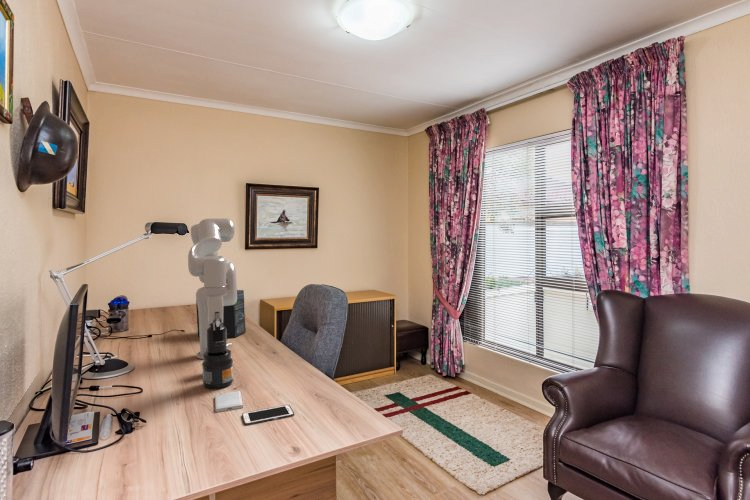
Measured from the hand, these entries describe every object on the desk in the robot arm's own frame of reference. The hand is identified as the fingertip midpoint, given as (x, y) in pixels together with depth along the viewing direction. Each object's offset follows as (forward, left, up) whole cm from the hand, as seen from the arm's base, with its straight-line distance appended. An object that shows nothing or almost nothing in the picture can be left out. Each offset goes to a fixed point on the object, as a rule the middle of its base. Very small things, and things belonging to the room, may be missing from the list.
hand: (216, 337), depth 150 cm
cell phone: (+5, +36, -18) cm, 40 cm away
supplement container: (0, 0, -18) cm, 18 cm away
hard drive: (+7, +18, -18) cm, 26 cm away
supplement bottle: (0, 0, -6) cm, 6 cm away
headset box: (-42, -67, -18) cm, 81 cm away
